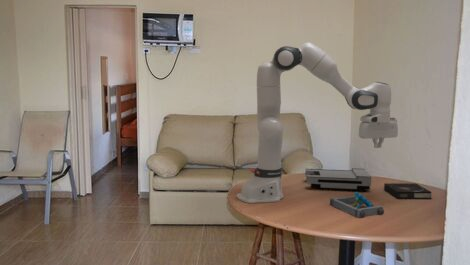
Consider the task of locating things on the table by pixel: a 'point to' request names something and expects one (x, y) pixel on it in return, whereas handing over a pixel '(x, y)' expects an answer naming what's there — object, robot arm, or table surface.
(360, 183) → the game console
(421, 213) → the table surface
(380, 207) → the u-shaped wheeled base
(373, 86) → the robot arm
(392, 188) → the portable cd player
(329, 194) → the table surface
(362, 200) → the gear
